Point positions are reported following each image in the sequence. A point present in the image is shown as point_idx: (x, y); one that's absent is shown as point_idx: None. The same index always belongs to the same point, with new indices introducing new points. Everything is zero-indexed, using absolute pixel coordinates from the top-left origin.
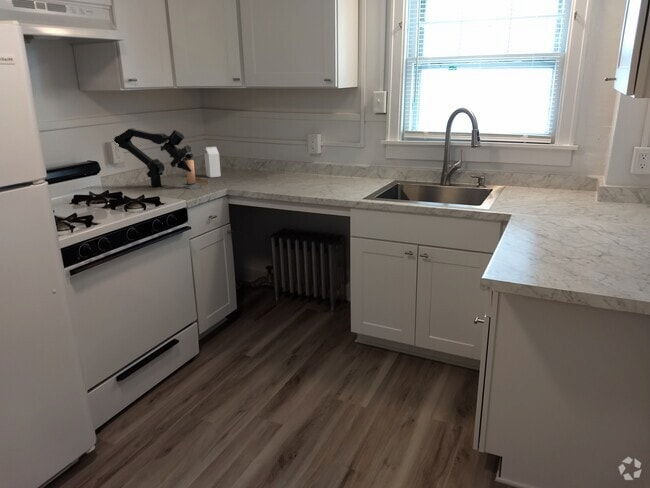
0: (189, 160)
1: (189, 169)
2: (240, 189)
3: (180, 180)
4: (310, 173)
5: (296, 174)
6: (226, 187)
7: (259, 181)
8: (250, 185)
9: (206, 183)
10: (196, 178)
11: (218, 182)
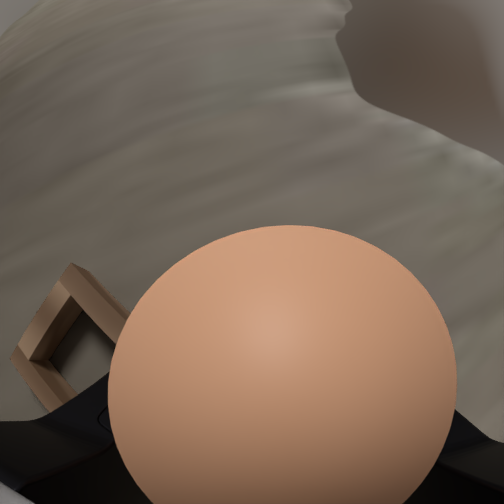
0: (316, 412)
1: None
2: (294, 38)
3: None
4: (24, 18)
5: (19, 32)
6: (244, 98)
7: (92, 43)
8: (185, 32)
9: (96, 280)
10: (33, 380)
11: (59, 210)
